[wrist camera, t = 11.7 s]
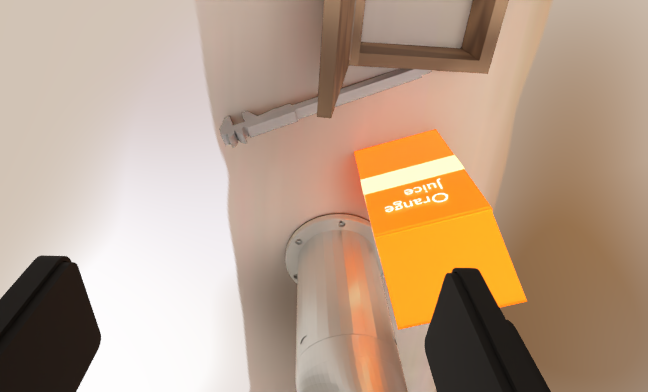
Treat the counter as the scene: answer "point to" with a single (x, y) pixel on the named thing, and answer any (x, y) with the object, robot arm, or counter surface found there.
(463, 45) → the case
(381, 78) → the caliper
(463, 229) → the orange juice
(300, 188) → the counter surface
